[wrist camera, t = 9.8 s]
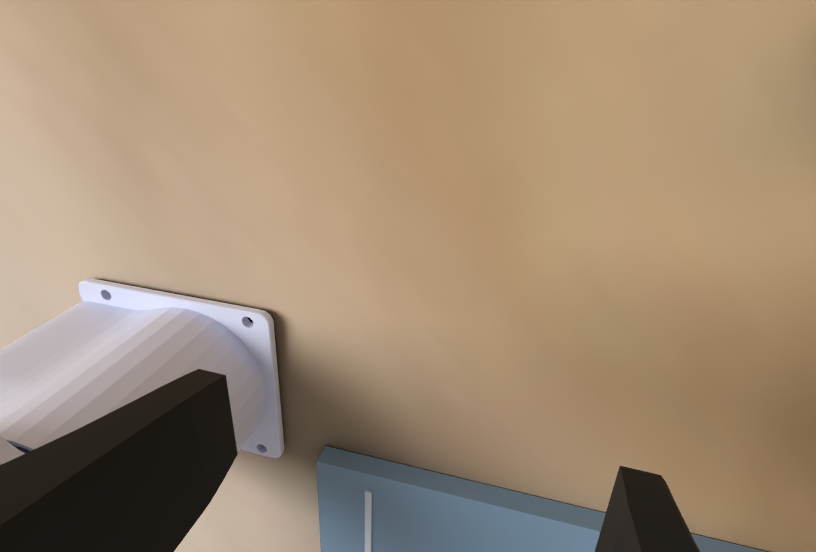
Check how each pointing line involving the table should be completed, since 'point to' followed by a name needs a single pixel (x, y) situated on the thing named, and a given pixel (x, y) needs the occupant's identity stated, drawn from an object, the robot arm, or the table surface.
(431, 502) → the blueprint board
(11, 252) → the table surface
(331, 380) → the table surface
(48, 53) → the table surface
